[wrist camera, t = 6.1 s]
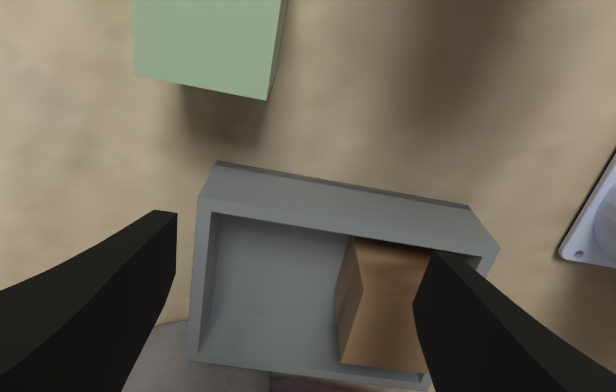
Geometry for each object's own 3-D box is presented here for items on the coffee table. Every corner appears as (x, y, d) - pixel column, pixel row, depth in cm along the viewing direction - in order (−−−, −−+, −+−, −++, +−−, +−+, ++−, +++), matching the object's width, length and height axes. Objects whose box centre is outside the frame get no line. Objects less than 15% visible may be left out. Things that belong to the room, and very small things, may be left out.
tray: (467, 205, 21) (500, 248, 17) (409, 336, 26) (426, 391, 22) (217, 160, 20) (197, 196, 16) (203, 306, 24) (185, 360, 21)
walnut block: (431, 240, 21) (464, 304, 17) (407, 302, 23) (431, 374, 19) (351, 228, 21) (363, 290, 16) (334, 291, 23) (340, 362, 19)
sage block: (293, -37, 16) (288, -49, 11) (275, 74, 18) (266, 100, 13) (182, -63, 15) (132, -86, 11) (177, 54, 18) (133, 74, 13)
